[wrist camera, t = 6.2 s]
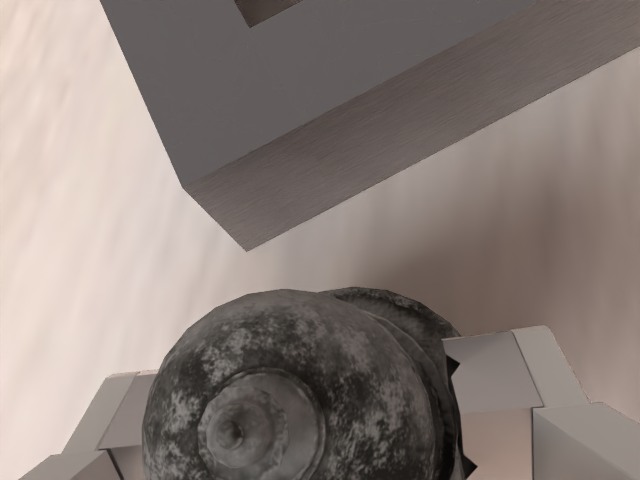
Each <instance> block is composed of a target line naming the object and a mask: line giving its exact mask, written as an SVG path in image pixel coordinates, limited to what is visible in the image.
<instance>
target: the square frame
mask: <svg viewBox="0 0 640 480" xmlns="http://www.w3.org/2000/svg"><path fill="white" fill-rule="evenodd" d="M100 2H101V4H102V6H103V9H104V11H105V13H106V15H107V18H108V20H109V22H110V25H111V27H112V29H113V31H114V34H115V36H116V38H117V40H118V43H119V45H120V47H121V50H122V52H123V54H124V56H125V59H126V61H127V63H128V65H129V68H130V70H131V72H132V74H133V77H134V79H135V81H136V84H137V86H138V88H139V90H140V93H141V95H142V97H143V99H144V102H145V104H146V106H147V109H148V111H149V113H150V115H151V118H152V120H153V122H154V124H155V127H156V129H157V131H158V133H159V136H160V138H161V140H162V143H163V145H164V147H165V149H166V152H167V154H168V156H169V158H170V161H171V163H172V165H173V168H174V170H175V172H176V174H177V177H178V179H179V181H180V183H181V186H182V188H183V189H184V190H185V191H186V192H187V193H188V194H189V195H190V196H191V197H192V198H193V199H194V200H195V201H196V202H197V203H198V204H199V205H200V206H201V207H202V208H203V209H204V210H205V211H206V212H207V213H208V214H209V215H210V216H211V217H212V218H213V219H214V220H215V221H216V222H217V223H218V224H219V225H220V226H221V227H222V228H223V229H224V230H225V231H226V232H227V233H228V234H229V235H230V236H231V237H232V238H233V239H234V240H235V241H236V242H237V243H238V244H239V245H240V246H241V247H242V248H243V249H244V250H245V251H246V252H247V251H249V250H251V249H253V248H255V247H257V246H259V245H260V244H262V243H264V242H266V241H268V240H270V239H272V238H274V237H276V236H278V235H279V234H281V233H283V232H285V231H287V230H289V229H291V228H293V227H295V226H297V225H299V224H300V223H302V222H304V221H306V220H308V219H310V218H312V217H314V216H316V215H318V214H320V213H321V212H323V211H325V210H327V209H329V208H331V207H333V206H335V205H337V204H339V203H341V202H342V201H344V200H346V199H348V198H350V197H352V196H354V195H356V194H358V193H360V192H362V191H363V190H365V189H367V188H369V187H371V186H373V185H375V184H377V183H379V182H381V181H382V180H384V179H386V178H388V177H390V176H392V175H394V174H396V173H398V172H400V171H402V170H403V169H405V168H407V167H409V166H411V165H413V164H415V163H417V162H419V161H421V160H423V159H424V158H426V157H428V156H430V155H432V154H434V153H436V152H438V151H440V150H442V149H444V148H445V147H447V146H449V145H451V144H453V143H455V142H457V141H459V140H461V139H463V138H465V137H466V136H468V135H470V134H472V133H474V132H476V131H478V130H480V129H482V128H484V127H485V126H487V125H489V124H491V123H493V122H495V121H497V120H499V119H501V118H503V117H505V116H506V115H508V114H510V113H512V112H514V111H516V110H518V109H520V108H522V107H524V106H526V105H527V104H529V103H531V102H533V101H535V100H537V99H539V98H541V97H543V96H545V95H547V94H548V93H550V92H552V91H554V90H556V89H558V88H560V87H562V86H564V85H566V84H567V83H569V82H571V81H573V80H575V79H577V78H579V77H581V76H583V75H585V74H587V73H588V72H590V71H592V70H594V69H596V68H598V67H600V66H602V65H604V64H606V63H608V62H609V61H611V60H613V59H615V58H617V57H619V56H621V55H623V54H625V53H627V52H629V51H630V50H632V49H634V48H636V47H638V46H640V0H303V1H301V2H299V3H297V4H295V5H293V6H291V7H289V8H287V9H285V10H283V11H282V12H280V13H278V14H276V15H274V16H272V17H270V18H268V19H266V20H264V21H262V22H261V23H259V24H257V25H255V26H253V27H251V28H249V26H248V25H247V23H246V21H245V19H244V18H243V16H242V14H241V12H240V10H239V9H238V7H237V5H236V3H235V1H234V0H100Z"/></svg>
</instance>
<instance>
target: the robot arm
mask: <svg viewBox="0 0 640 480" xmlns="http://www.w3.org/2000/svg"><path fill="white" fill-rule="evenodd" d="M441 351H442V361H443V366H444V371H445V375H446V380H447V382H446V383H445V386H446V389H447V391H448V393H449V395H450V399H451V404H452V409H453V414H454V419H455V424H456V429H457V434H456V449H457V450H458V457H459V466H460V474H461V479H462V480H640V424H639V423H637V422H635V421H633V420H632V419H630V418H628V417H627V416H625V415H623V414H621V413H620V412H618V411H616V410H615V409H613V408H611V407H609V406H608V405H606V404H604V403H603V402H599V403H590V401H589V400H588V398H587V396H586V394H585V392H584V390H583V389H582V387H581V385H580V383H579V381H578V379H577V378H576V376H575V374H574V372H573V370H572V368H571V367H570V365H569V363H568V361H567V359H566V357H565V356H564V354H563V352H562V350H561V348H560V346H559V345H558V343H557V341H556V339H555V337H554V335H553V334H552V332H551V330H550V328H548V327H547V326H545V325H540V326H533V327H525V328H518V329H511V330H509V331H505V332H496V333H488V334H479V335H471V336H462V337H454V338H445V339H441ZM158 371H159V369H158V370H147V371H142V372H129V373H120V374H113V375H111V376H109V377H107V378H106V379H105V380H104V381H103V383H102V385H101V386H100V388H99V390H98V392H97V393H96V395H95V397H94V398H93V400H92V402H91V404H90V405H89V407H88V409H87V410H86V412H85V414H84V415H83V417H82V419H81V421H80V422H79V424H78V426H77V427H76V429H75V431H74V433H73V434H72V436H71V438H70V439H69V441H68V443H67V444H66V446H65V448H64V450H63V451H62V453H61V454H58V455H51V456H49V457H48V458H47V459H45V460H44V461H43V462H41V463H40V464H39V465H37V466H36V467H35V468H33V469H32V470H31V471H29V472H28V473H27V474H25V475H24V476H23V477H21V478H20V479H19V480H146V477H145V473H144V469H143V463H142V423H143V418H144V413H145V408H146V404H147V399H148V394H149V390H150V388H151V386H152V383H153V381H154V379H155V377H156V375H157V373H158Z"/></svg>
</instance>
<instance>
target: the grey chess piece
mask: <svg viewBox="0 0 640 480" xmlns="http://www.w3.org/2000/svg"><path fill="white" fill-rule="evenodd" d="M454 337H462V336H461V335H460V334H459V333H458V332H457V331H456V329H455V328H454V327H453V326H452V325H451V324H450V323H449V322H447V321H446V320H445V319H443V318H442V317H440V316H439V315H437V314H436V313H435V312H433V311H432V310H430V309H429V308H427V307H426V306H425V305H423V304H422V303H420V302H417V301H415V300H412V299H409V298H407V297H404V296H401V295H399V294H396V293H393V292H391V291H388V290H379V289H370V288H360V287H349V288H342V289H336V290H329V291H323V292H318V293H316V292H307V291H299V290H290V289H280V290H273V291H266V292H259V293H252V294H247V295H244V296H242V297H240V298H237V299H235V300H233V301H230V302H228V303H225V304H223V305H221V306H218V307H216V308H214V309H213V310H212V311H211V312H209V313H208V314H207V315H205V316H204V317H203V318H201V319H200V320H199V321H197V322H196V323H195V324H193V325H192V326H191V327H189V328H188V329H187V330H186V332H185V333H184V334H183V335H182V336H181V338H180V339H179V340H178V341H177V343H176V344H175V345H174V346H173V348H172V349H171V350H170V351H169V353H168V354H167V355H166V356H165V358H164V360H163V362H162V364H161V367H160V369H159V371H158V373H157V375H156V377H155V379H154V381H153V383H152V386H151V388H150V390H149V394H148V399H147V404H146V408H145V413H144V418H143V423H142V463H143V469H144V473H145V477H146V480H462V479H461V474H460V466H459V457H458V450H457V449H456V434H457V429H456V424H455V419H454V414H453V409H452V404H451V399H450V395H449V393H448V391H447V389H446V386H445V383H446V382H447V380H446V375H445V371H444V366H443V361H442V351H441V339H445V338H454Z"/></svg>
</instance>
